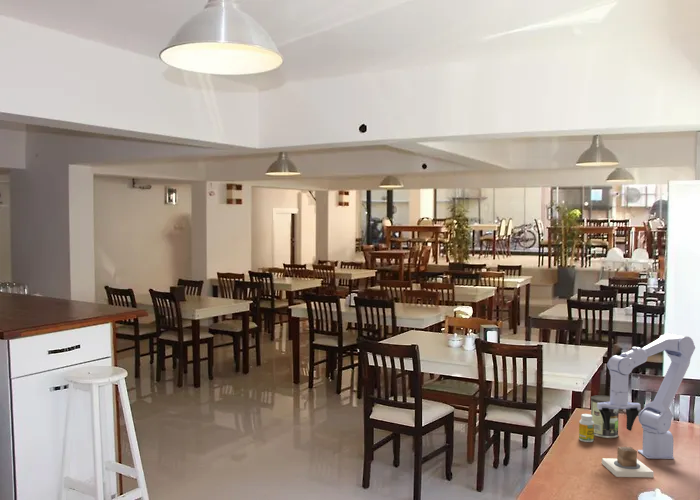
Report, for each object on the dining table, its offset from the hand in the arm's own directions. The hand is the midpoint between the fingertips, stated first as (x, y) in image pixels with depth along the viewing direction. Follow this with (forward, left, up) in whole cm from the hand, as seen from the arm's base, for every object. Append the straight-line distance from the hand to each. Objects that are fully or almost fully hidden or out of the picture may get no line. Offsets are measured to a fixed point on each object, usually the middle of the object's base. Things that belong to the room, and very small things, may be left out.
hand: (618, 429), depth 226 cm
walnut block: (+1, +10, -8) cm, 13 cm away
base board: (+1, +11, -10) cm, 15 cm away
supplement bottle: (+3, -20, -11) cm, 23 cm away
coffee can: (-7, -28, -11) cm, 31 cm away
